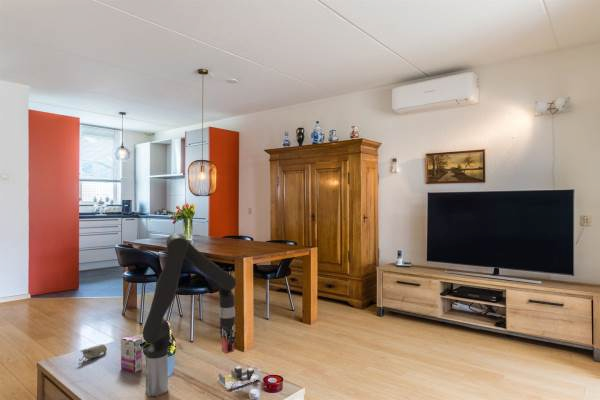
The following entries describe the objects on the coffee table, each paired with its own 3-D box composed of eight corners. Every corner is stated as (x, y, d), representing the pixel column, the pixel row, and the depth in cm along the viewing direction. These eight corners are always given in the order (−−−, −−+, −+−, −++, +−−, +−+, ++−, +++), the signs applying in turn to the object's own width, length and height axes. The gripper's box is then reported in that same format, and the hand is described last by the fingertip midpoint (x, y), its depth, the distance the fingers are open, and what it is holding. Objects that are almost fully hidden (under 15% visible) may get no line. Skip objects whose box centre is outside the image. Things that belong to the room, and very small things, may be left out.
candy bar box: (142, 369, 199) (142, 338, 199) (134, 373, 195) (134, 341, 194) (128, 365, 204) (128, 335, 204) (120, 368, 200) (120, 338, 200)
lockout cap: (225, 353, 183) (225, 340, 183) (221, 350, 186) (221, 337, 186) (234, 351, 185) (233, 338, 185) (230, 348, 189) (229, 335, 189)
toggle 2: (249, 378, 184) (249, 370, 184) (246, 376, 187) (246, 368, 187) (254, 377, 186) (254, 369, 186) (251, 375, 188) (251, 367, 188)
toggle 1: (237, 376, 187) (237, 369, 187) (234, 374, 189) (234, 366, 189) (241, 375, 188) (241, 367, 188) (239, 373, 190) (239, 365, 190)
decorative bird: (109, 353, 220) (109, 341, 220) (84, 365, 205) (83, 351, 205) (102, 352, 222) (102, 339, 222) (77, 363, 207) (77, 350, 207)
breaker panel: (227, 390, 176) (227, 382, 176) (217, 380, 186) (217, 373, 186) (259, 380, 186) (259, 372, 186) (248, 371, 196) (248, 364, 196)
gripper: (240, 317, 182) (241, 352, 182) (228, 310, 194) (228, 343, 194) (226, 320, 178) (226, 356, 178) (214, 313, 189) (214, 347, 189)
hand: (227, 349), depth 186 cm, fingers closed on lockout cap, 4 cm apart
